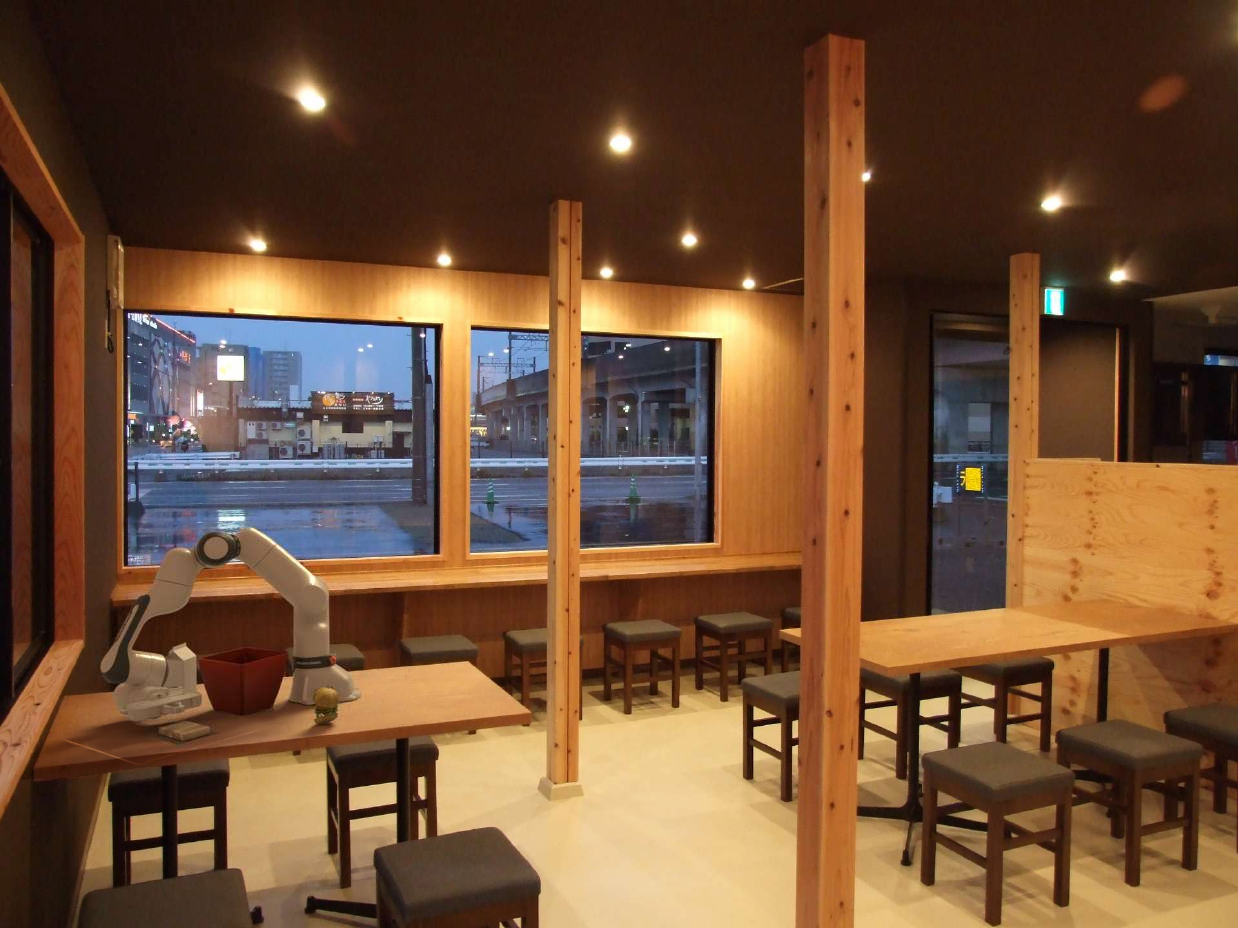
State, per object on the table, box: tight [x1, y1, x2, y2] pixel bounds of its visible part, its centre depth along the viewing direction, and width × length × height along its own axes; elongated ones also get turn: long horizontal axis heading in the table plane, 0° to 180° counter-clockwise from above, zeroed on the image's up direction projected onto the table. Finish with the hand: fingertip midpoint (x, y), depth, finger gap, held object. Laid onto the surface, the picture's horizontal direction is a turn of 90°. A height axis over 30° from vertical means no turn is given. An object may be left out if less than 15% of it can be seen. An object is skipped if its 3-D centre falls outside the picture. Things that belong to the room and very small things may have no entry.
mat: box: [146, 730, 219, 745], centre depth 258 cm, size 16×12×1 cm
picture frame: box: [158, 720, 211, 741], centre depth 257 cm, size 2×8×12 cm
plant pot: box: [198, 646, 289, 716], centre depth 285 cm, size 19×19×17 cm
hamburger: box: [313, 685, 340, 725], centre depth 267 cm, size 8×7×12 cm
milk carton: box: [163, 642, 198, 692], centre depth 289 cm, size 7×7×19 cm
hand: (179, 709), depth 258 cm, fingers closed
